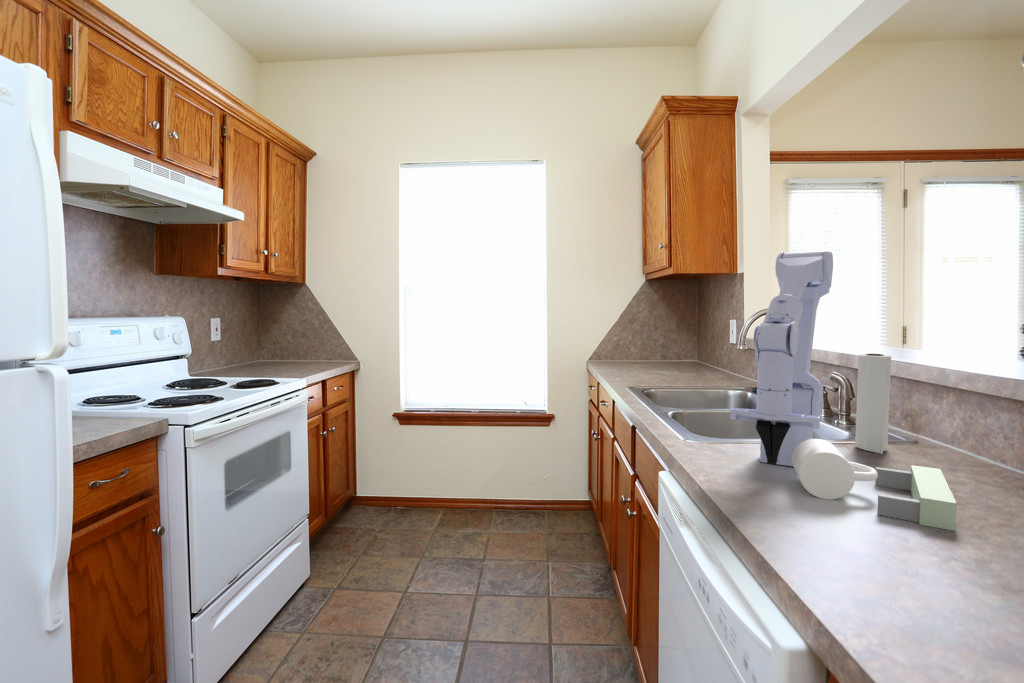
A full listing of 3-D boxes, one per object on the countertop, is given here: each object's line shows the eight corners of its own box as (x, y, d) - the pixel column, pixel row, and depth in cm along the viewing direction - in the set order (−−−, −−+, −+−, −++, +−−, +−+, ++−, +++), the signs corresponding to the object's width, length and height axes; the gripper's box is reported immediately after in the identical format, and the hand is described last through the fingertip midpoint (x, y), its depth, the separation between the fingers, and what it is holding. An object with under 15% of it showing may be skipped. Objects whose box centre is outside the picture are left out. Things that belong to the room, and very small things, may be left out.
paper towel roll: (859, 443, 121) (862, 352, 119) (890, 448, 116) (894, 354, 115) (850, 449, 116) (853, 354, 115) (882, 455, 111) (886, 356, 110)
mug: (798, 496, 87) (800, 450, 87) (791, 478, 96) (792, 436, 96) (883, 506, 83) (885, 457, 82) (867, 486, 92) (868, 442, 91)
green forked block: (877, 516, 78) (878, 491, 78) (875, 482, 94) (876, 460, 94) (955, 530, 73) (956, 503, 73) (939, 491, 89) (940, 468, 89)
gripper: (727, 388, 95) (725, 461, 96) (818, 395, 87) (816, 475, 87) (735, 383, 100) (733, 452, 101) (821, 390, 92) (819, 464, 93)
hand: (772, 462), depth 95 cm, fingers closed
